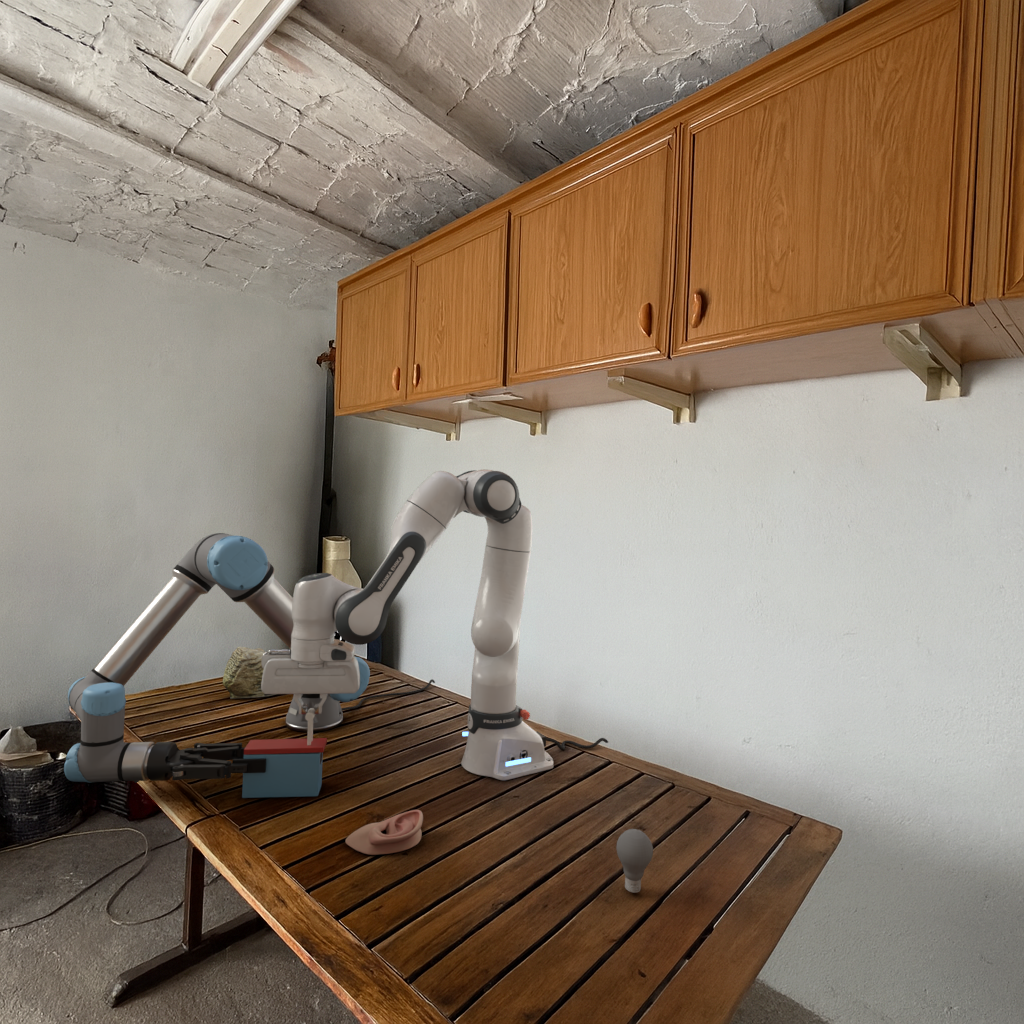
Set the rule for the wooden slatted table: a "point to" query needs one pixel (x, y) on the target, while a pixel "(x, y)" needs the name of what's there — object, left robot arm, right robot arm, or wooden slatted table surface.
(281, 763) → the chest
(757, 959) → the wooden slatted table surface
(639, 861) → the light bulb
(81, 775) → the left robot arm
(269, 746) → the lid
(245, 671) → the fossil
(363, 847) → the anatomical model
